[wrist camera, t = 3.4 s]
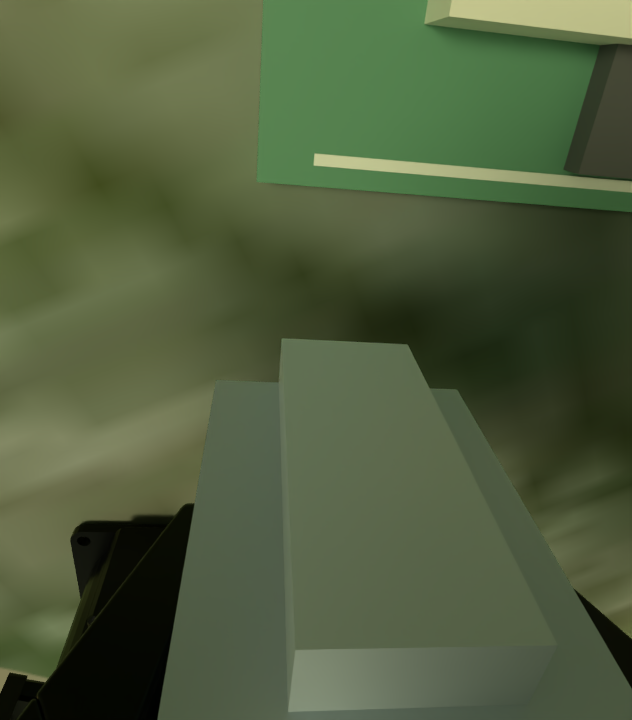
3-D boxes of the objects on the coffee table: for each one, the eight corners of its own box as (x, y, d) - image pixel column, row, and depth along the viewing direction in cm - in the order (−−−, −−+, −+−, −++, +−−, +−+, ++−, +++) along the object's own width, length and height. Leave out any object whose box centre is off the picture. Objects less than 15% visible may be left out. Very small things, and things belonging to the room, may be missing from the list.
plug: (413, 555, 11) (550, 1015, 6) (215, 554, 10) (159, 1056, 5) (468, 347, 8) (789, 797, 3) (216, 335, 8) (114, 834, 3)
